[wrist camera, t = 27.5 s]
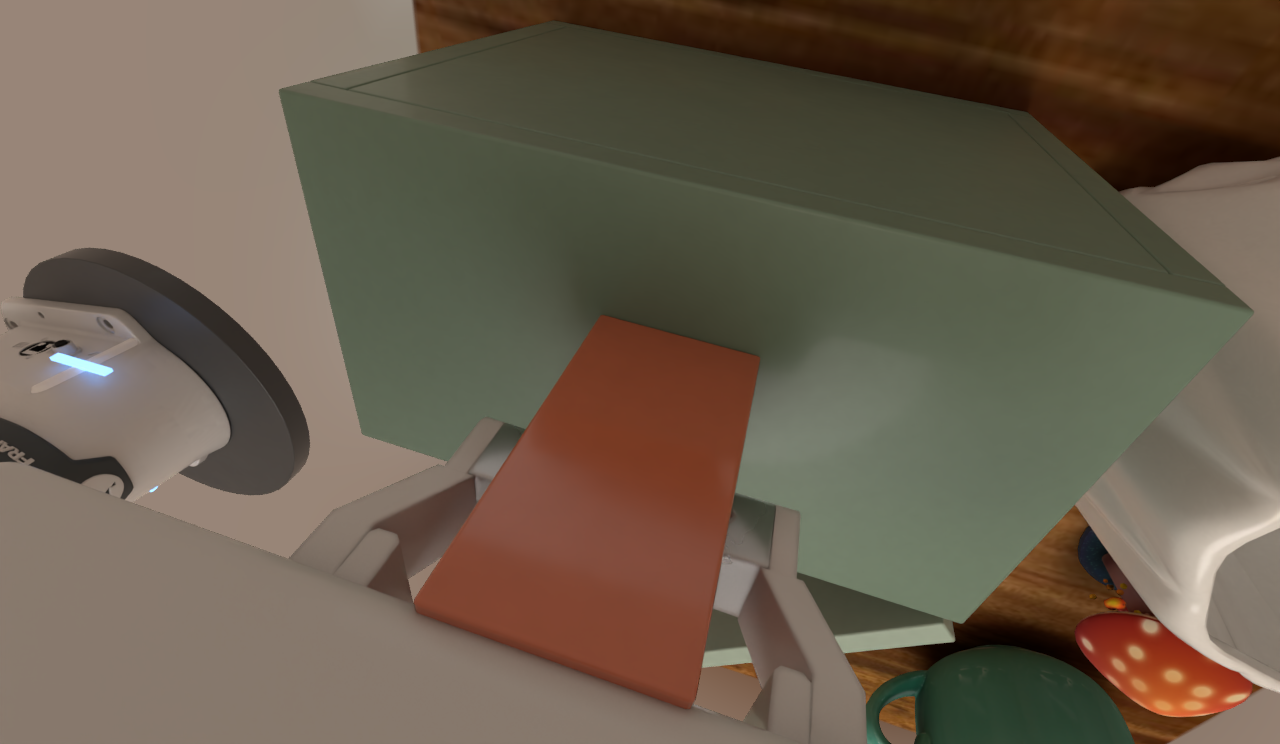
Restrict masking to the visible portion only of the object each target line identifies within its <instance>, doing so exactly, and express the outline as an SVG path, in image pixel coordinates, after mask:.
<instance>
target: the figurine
mask: <svg viewBox="0 0 1280 744" xmlns="http://www.w3.org/2000/svg"><path fill="white" fill-rule="evenodd" d="M1078 556H1079V560H1080V563H1081V564H1082V566H1083V567H1084V569H1085V570H1086V571H1087V572H1088V573H1089V574H1090V575H1091V576H1092V577H1093V578H1095V579H1096V580H1097V581H1099V582H1101V583H1102V584H1104V585H1106V588H1107V589H1108V590H1113V589H1114V590H1117V591H1116V593H1117V594H1118V595H1120V596H1121V597H1122V598H1118V597H1112V598H1109V599H1106V600H1104V604H1105V606H1106V607H1107V608H1109V609H1111V610H1116V609H1118V611H1109V612H1100V613H1097V614H1093V615H1089V616H1087V617H1086V618H1084V619H1082V620H1081V621H1080V622H1079V623H1078V624H1077V626H1076V629H1075V637H1076V642H1077V644H1078V645H1079V647H1080V649H1081V650H1082V652H1083V653H1084V655H1085V656H1086V657H1087V659H1088V660H1089V661H1090V662H1091V663H1092V664H1093V665H1094V666H1095V667H1096V668H1097V669H1098V671H1099V672H1100V673H1101V674H1102V675H1103V676H1104V677H1105V678H1107V679H1108V680H1109V681H1110V682H1111V683H1112V684H1113V685H1114V686H1115V687H1117V688H1118V689H1119V690H1120V691H1122V692H1123V693H1124V694H1125V695H1126V696H1128V697H1129V698H1131V699H1132V700H1133V701H1135V702H1136V703H1138V704H1139V705H1141V706H1143V707H1144V708H1146V709H1148V710H1150V711H1152V712H1155V713H1157V714H1160V715H1165V716H1172V717H1190V716H1201V715H1207V714H1212V713H1216V712H1220V711H1224V710H1228V709H1231V708H1233V707H1235V706H1237V705H1239V704H1241V703H1242V702H1244V701H1245V700H1246V699H1247V698H1248V697H1249V695H1250V694H1251V693H1252V682H1251V681H1249V680H1248V679H1246V678H1245V677H1243V676H1242V675H1241V674H1240V673H1239V672H1236V671H1233V670H1230V669H1228V668H1226V667H1224V666H1222V665H1220V664H1218V663H1216V662H1214V661H1213V660H1211V659H1209V658H1208V657H1206V656H1204V655H1203V654H1201V653H1200V652H1198V651H1197V650H1195V649H1194V648H1192V647H1191V646H1189V645H1188V644H1186V643H1185V642H1184V641H1182V640H1181V639H1179V638H1178V637H1177V636H1176V635H1174V634H1173V633H1172V632H1171V631H1170V630H1169V629H1167V628H1166V627H1165V626H1164V625H1163V624H1162V623H1161V622H1160V621H1159V620H1158V618H1157V617H1156V616H1155V615H1154V614H1153V613H1152V611H1151V610H1150V609H1149V607H1148V606H1147V605H1146V604H1145V602H1144V601H1143V600H1142V598H1141V597H1140V596H1139V594H1138V593H1137V591H1136V590H1135V589H1134V587H1133V586H1132V585H1131V583H1130V582H1129V581H1128V579H1127V578H1126V576H1125V575H1124V574H1123V572H1122V571H1121V569H1120V568H1119V567H1118V565H1117V564H1116V562H1115V561H1114V560H1113V558H1112V557H1111V555H1110V554H1109V553H1108V551H1107V550H1106V548H1105V547H1104V546H1103V544H1102V543H1101V541H1100V540H1099V539H1098V537H1097V536H1096V534H1095V533H1094V531H1093V530H1092V528H1091V527H1090V526H1088V527H1087V528H1086V530H1085V532H1084V533H1083V535H1082V537H1081V538H1080V542H1079V546H1078ZM1089 597H1090V599H1096V598H1097V596H1096V595H1095V594H1091V595H1090V596H1089Z"/></svg>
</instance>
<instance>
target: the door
mask: <svg viewBox="0 0 1280 744" xmlns="http://www.w3.org/2000/svg"><path fill="white" fill-rule="evenodd" d="M796 579H799V580H802V581H804V583H805V584H806V586H807V588H808V590H809V592H810V593H811V595H812V597H813V599H814V601H815V602H816V604H817V606H818V608H819V610H820V612H821V613H822V615H823V617H824V619H825V621H826V622H827V624H828V626H829V628H830V630H831V631H832V633H833V635H834V637H835V639H836V640H837V642H838V644H839V646H840V648H841V650H842V651H843V653H850V652H860V651H869V650H879V649H889V648H899V647H909V646H919V645H928V644H938V643H948V642H954V641H955V635H954V629H953V623H952V621H950V620H947V619H944V618H941V617H938V616H935V615H931V614H928V613H925V612H922V611H919V610H916V609H912V608H909V607H906V606H903V605H900V604H897V603H893V602H890V601H887V600H884V599H881V598H878V597H874V596H871V595H868V594H865V593H862V592H859V591H856V590H852V589H849V588H846V587H843V586H840V585H837V584H833V583H830V582H827V581H824V580H821V579H818V578H814V577H811V576H808V575H805V574H802V573H799V572H797V578H796ZM737 619H738V617H735V616H732V615H729V614H727V613H724V612H721V611H718V610H715V609H713V612H712V617H711V622H710V627H709V633H708V638H707V643H706V648H705V653H704V659H703V664H702V667H712V666H722V665H732V664H742V663H751V662H752V660H751V657H750V654H749V651H748V648H747V645H746V643H745V640H744V637H743V634H742V631H741V628H740V626H739V623H738V620H737Z"/></svg>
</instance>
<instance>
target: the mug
mask: <svg viewBox="0 0 1280 744" xmlns="http://www.w3.org/2000/svg"><path fill="white" fill-rule="evenodd" d="M905 696H915V722H916V734H917V736H916V739H915V742H914V744H1135V743H1134V741H1133V738H1132V736H1131V734H1130V731H1129V729H1128V727H1127V725H1126V723H1125V721H1124V719H1123V717H1122V715H1121V713H1120V711H1119V710H1118V708H1117V706H1116V705H1115V703H1114V702H1113V701H1112V699H1111V698H1110V697H1109V696H1108V694H1107V693H1106V692H1105V691H1104V690H1103V689H1102V688H1101V687H1100V686H1099V685H1098V684H1097V683H1096V682H1095V681H1094V680H1092V679H1091V678H1090V677H1088V676H1087V675H1086V674H1084V673H1083V672H1081V671H1080V670H1078V669H1076V668H1075V667H1073V666H1071V665H1069V664H1067V663H1065V662H1063V661H1061V660H1058V659H1056V658H1053V657H1051V656H1048V655H1045V654H1042V653H1038V652H1034V651H1031V650H1028V649H1025V648H1021V647H1015V646H1007V645H984V646H977V647H974V648H971V649H968V650H964V651H960V652H957V653H953V654H951V655H949V656H947V657H944V658H942V659H941V660H939V661H938V662H936V663H935V664H934V665H933V666H931V667H930V668H929V669H928V670H919V671H913V672H908V673H905V674H902V675H899V676H897V677H895V678H893V679H890V680H889V681H887V682H885V683H884V684H882V685H881V686H880V687H879V688H878V689H877V690H876V691H875V692H874V693H873V694H872V696H871V697H870V699H869V701H868V702H867V704H866V728H867V744H891V743H890V742H889V741H888V740H887V739H886V738H885V736H884V735H883V733H882V731H881V728H880V725H879V713H880V711H881V709H882V708H883V707H884V706H885V705H887V704H888V703H890V702H891V701H893V700H895V699H898V698H901V697H905Z"/></svg>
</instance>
